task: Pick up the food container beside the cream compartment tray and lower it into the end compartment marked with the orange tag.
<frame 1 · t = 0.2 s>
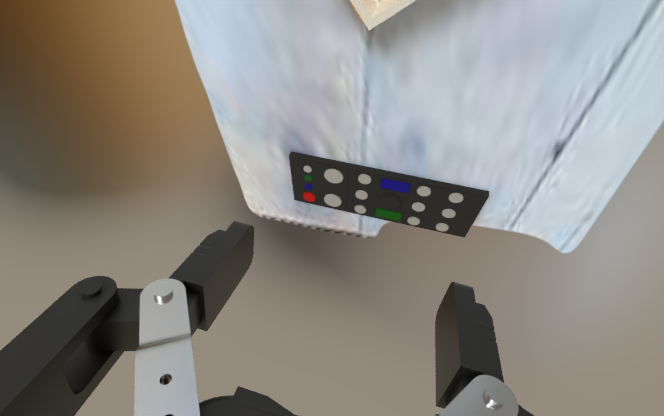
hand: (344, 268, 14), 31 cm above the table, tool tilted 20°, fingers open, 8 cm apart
remote control: (382, 190, 58), on the table
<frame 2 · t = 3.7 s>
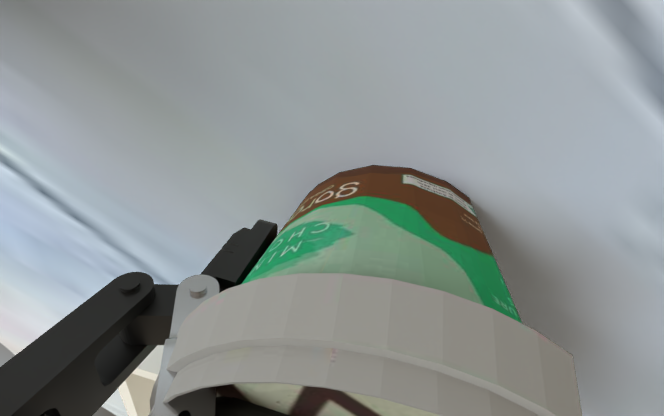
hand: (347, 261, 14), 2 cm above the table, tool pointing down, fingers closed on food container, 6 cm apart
food container: (341, 216, 16), on the table, touching gripper
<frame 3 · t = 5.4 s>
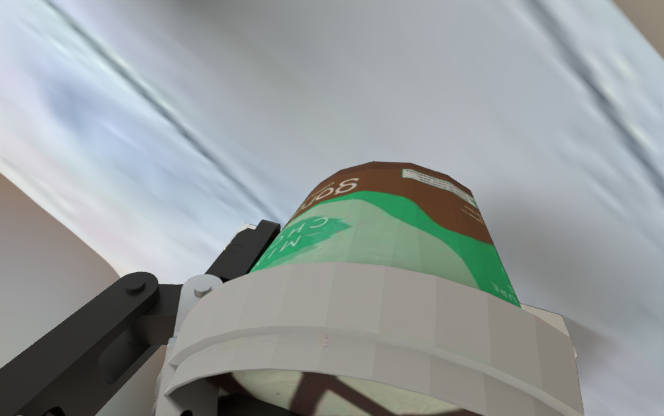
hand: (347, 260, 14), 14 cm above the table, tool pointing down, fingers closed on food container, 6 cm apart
cream compartment tray: (373, 326, 36), on the table
food container: (344, 214, 16), point 11 cm above the table, touching gripper
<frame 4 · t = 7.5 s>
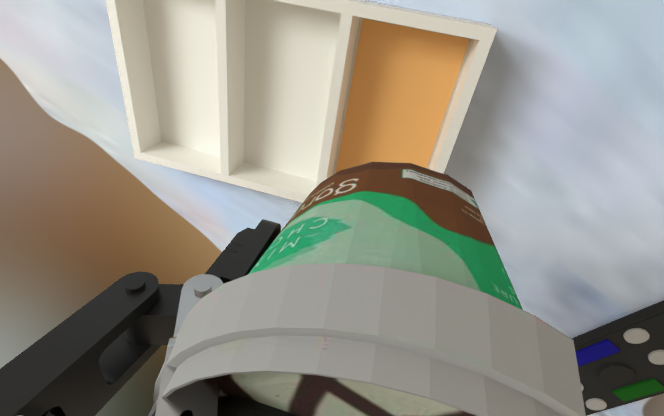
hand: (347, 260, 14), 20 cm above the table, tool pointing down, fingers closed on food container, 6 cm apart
cream compartment tray: (292, 95, 32), on the table
remote control: (593, 363, 40), on the table
food container: (344, 214, 16), point 17 cm above the table, touching gripper
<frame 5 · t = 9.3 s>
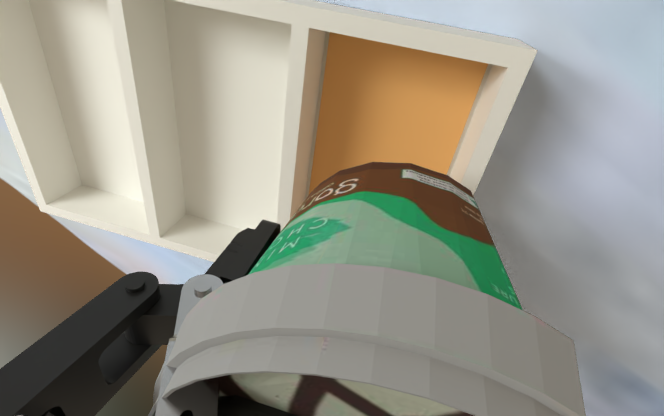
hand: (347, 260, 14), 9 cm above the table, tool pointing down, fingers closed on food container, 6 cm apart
cream compartment tray: (241, 132, 23), on the table
food container: (344, 215, 16), point 7 cm above the table, touching gripper
when the fingers open (4 cm above the table, at t = 10.9 s): food container moves 1 cm, resting on cream compartment tray.
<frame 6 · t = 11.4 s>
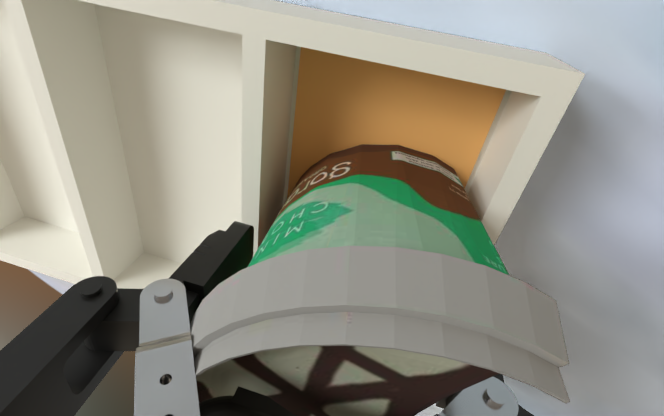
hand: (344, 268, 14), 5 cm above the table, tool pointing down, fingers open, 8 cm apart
cream compartment tray: (202, 161, 19), on the table
food container: (334, 196, 17), point 1 cm above the table, touching cream compartment tray
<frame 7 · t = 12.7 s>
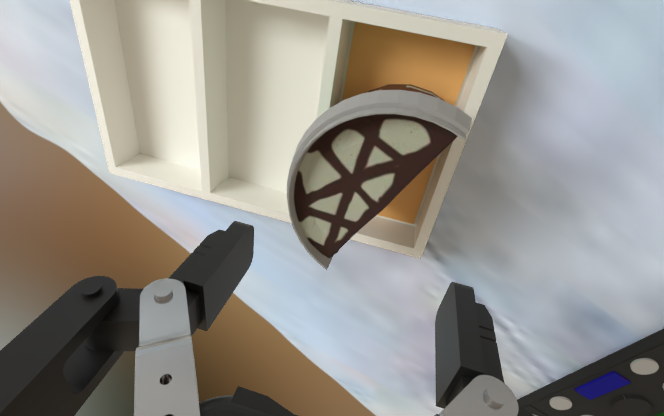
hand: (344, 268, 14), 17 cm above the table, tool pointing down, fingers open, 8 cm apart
cream compartment tray: (279, 106, 29), on the table
remote control: (607, 394, 37), on the table
food container: (369, 121, 27), point 1 cm above the table, touching cream compartment tray
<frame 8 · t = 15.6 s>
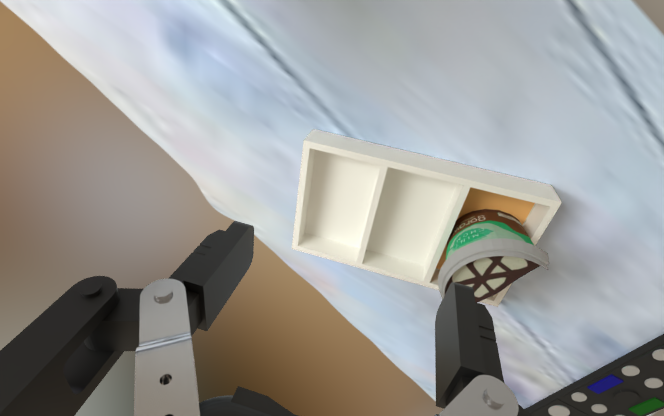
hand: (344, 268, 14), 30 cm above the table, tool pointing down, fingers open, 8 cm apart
cream compartment tray: (408, 212, 46), on the table
remote control: (611, 389, 55), on the table
food container: (469, 226, 44), point 1 cm above the table, touching cream compartment tray
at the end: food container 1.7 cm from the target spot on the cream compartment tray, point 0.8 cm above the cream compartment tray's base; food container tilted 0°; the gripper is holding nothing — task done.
